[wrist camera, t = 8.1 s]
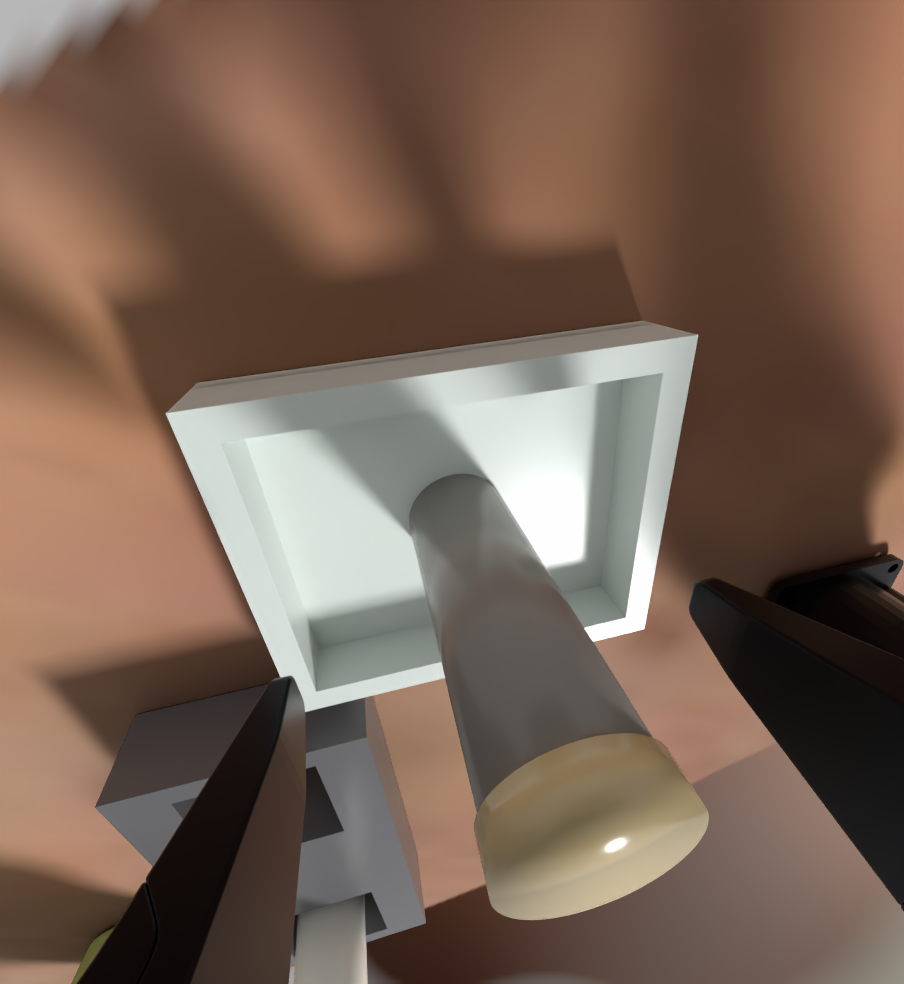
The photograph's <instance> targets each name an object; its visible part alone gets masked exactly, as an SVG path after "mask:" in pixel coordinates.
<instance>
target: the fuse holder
mask: <svg viewBox="0 0 904 984" xmlns="http://www.w3.org/2000/svg"><path fill="white" fill-rule="evenodd" d="M267 685H268V684H266V685H262V686H257V687H253V688H249V689H245V690H240V691H236V692H232V693H228V694H223V695H219V696H215V697H210V698H206V699H202V700H198V701H193V702H189V703H185V704H180V705H176V706H172V707H168V708H163V709H159V710H155V711H150V712H146V713H142V714H138V715H135V717H134V720H133V722H132V724H131V726H130V729H129V731H128V733H127V736H126V738H125V740H124V742H123V745H122V747H121V749H120V752H119V754H118V756H117V758H116V761H115V763H114V765H113V767H112V770H111V772H110V774H109V777H108V779H107V781H106V783H105V786H104V788H103V790H102V793H101V795H100V797H99V799H98V802H97V804H96V806H95V808H96V809H97V810H98V811H99V812H100V813H101V814H102V815H103V816H104V817H105V818H106V819H107V820H108V821H109V822H110V823H111V824H112V825H113V826H114V827H115V828H116V829H117V830H118V831H119V832H120V833H121V834H122V835H123V836H124V837H125V838H126V839H127V840H128V841H129V842H130V843H131V844H132V845H133V846H134V847H135V849H136V850H137V851H138V852H139V853H140V854H141V855H142V856H143V857H144V858H145V859H146V860H147V861H148V862H149V863H150V864H151V865H152V866H154V864H155V863H156V861H157V859H158V858H159V856H160V855H161V853H162V852H163V850H164V848H165V847H166V845H167V844H168V842H169V840H170V839H171V837H172V836H173V834H174V833H175V831H176V829H177V828H178V826H179V825H180V823H181V821H182V820H183V818H184V817H185V815H186V814H187V812H188V810H189V809H190V807H191V806H192V804H193V802H194V801H195V799H196V798H197V796H198V795H199V793H200V791H201V790H202V788H203V787H204V785H205V783H206V782H207V780H208V779H209V777H210V776H211V774H212V772H213V771H214V769H215V768H216V766H217V764H218V763H219V761H220V760H221V758H222V756H223V755H224V753H225V752H226V750H227V749H228V747H229V745H230V744H231V742H232V741H233V739H234V737H235V736H236V734H237V733H238V731H239V730H240V728H241V726H242V725H243V723H244V722H245V720H246V718H247V717H248V715H249V714H250V712H251V711H252V709H253V707H254V706H255V704H256V703H257V701H258V699H259V698H260V696H261V695H262V693H263V692H264V690H265V688H266V687H267ZM305 737H306V799H305V811H304V822H303V833H302V844H301V854H300V865H299V876H298V887H297V898H296V908H295V919H294V930H293V941H292V951H291V962H290V967H291V966H294V965H295V953H296V938H297V922H298V914H301V913H304V912H307V911H311V910H314V909H317V908H320V907H324V906H327V905H330V904H333V903H337V902H340V901H343V900H347V899H350V898H353V897H356V896H360V895H363V894H364V898H365V927H366V942H369V941H372V940H375V939H378V938H381V937H384V936H387V935H390V934H393V933H397V932H400V931H403V930H406V929H409V928H412V927H415V926H418V925H422V924H424V923H426V921H425V913H424V904H423V896H422V888H421V880H420V872H419V864H418V855H417V851H416V847H415V843H414V840H413V836H412V833H411V829H410V826H409V822H408V819H407V815H406V812H405V808H404V805H403V801H402V798H401V794H400V790H399V787H398V783H397V780H396V776H395V773H394V769H393V766H392V762H391V759H390V755H389V752H388V748H387V745H386V741H385V738H384V734H383V730H382V727H381V723H380V720H379V716H378V713H377V709H376V706H375V702H374V699H373V696H369V697H365V698H361V699H356V700H352V701H348V702H344V703H340V704H336V705H332V706H328V707H324V708H320V709H316V710H311V711H307V712H305Z"/></svg>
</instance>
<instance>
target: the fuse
mask: <svg viewBox="0 0 904 984" xmlns="http://www.w3.org/2000/svg"><path fill="white" fill-rule="evenodd" d="M294 984H367V956H366V927H365V898H364V894H363V895H360V896H356V897H353V898H350V899H347V900H343V901H340V902H337V903H333V904H330V905H327V906H324V907H320V908H317V909H314V910H311V911H307V912H304V913H301V914H298V922H297V938H296V953H295V968H294Z"/></svg>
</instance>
